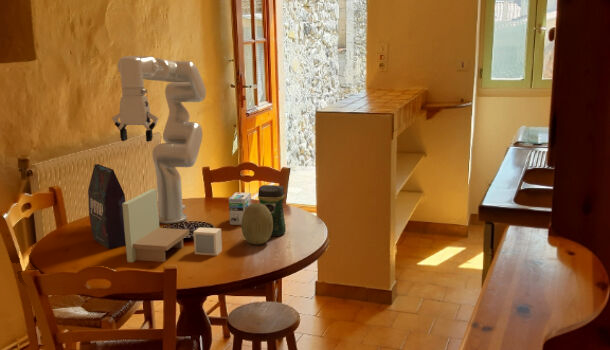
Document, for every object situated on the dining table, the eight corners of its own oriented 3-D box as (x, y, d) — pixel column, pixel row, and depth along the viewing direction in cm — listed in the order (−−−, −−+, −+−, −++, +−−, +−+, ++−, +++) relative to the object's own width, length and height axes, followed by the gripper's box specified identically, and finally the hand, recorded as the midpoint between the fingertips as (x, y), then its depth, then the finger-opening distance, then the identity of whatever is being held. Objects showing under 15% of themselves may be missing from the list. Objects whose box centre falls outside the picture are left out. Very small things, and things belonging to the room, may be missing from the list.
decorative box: (108, 249, 210) (101, 171, 204) (90, 238, 222) (83, 165, 216) (130, 244, 215) (124, 168, 209) (111, 234, 227) (105, 161, 221)
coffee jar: (287, 231, 228) (286, 183, 224) (281, 237, 220) (280, 188, 216) (263, 229, 230) (262, 182, 226) (256, 235, 223) (255, 187, 218)
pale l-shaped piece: (155, 242, 217) (151, 189, 212) (191, 244, 214) (188, 190, 209) (127, 261, 198) (122, 203, 193) (166, 264, 195) (162, 205, 190)
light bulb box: (245, 225, 236) (244, 199, 233) (229, 225, 237) (228, 198, 234) (252, 217, 246) (251, 192, 244) (236, 217, 247) (235, 192, 245)
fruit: (253, 236, 222) (252, 197, 218) (279, 241, 216) (278, 201, 213) (235, 245, 212) (234, 205, 209) (262, 250, 207) (261, 208, 203)
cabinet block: (200, 249, 209) (199, 227, 207) (222, 250, 207) (221, 228, 206) (194, 254, 204) (193, 231, 202) (216, 255, 202) (215, 233, 201)
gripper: (160, 91, 212) (163, 139, 216) (116, 91, 216) (120, 138, 219) (151, 93, 205) (154, 143, 209) (105, 93, 209) (109, 142, 212)
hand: (136, 140), depth 214 cm, fingers open, 9 cm apart
